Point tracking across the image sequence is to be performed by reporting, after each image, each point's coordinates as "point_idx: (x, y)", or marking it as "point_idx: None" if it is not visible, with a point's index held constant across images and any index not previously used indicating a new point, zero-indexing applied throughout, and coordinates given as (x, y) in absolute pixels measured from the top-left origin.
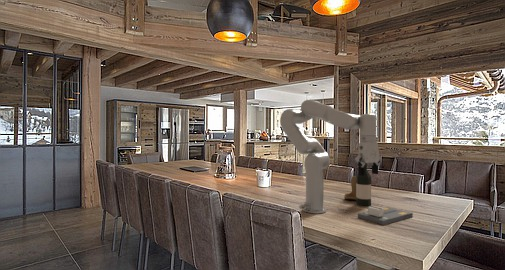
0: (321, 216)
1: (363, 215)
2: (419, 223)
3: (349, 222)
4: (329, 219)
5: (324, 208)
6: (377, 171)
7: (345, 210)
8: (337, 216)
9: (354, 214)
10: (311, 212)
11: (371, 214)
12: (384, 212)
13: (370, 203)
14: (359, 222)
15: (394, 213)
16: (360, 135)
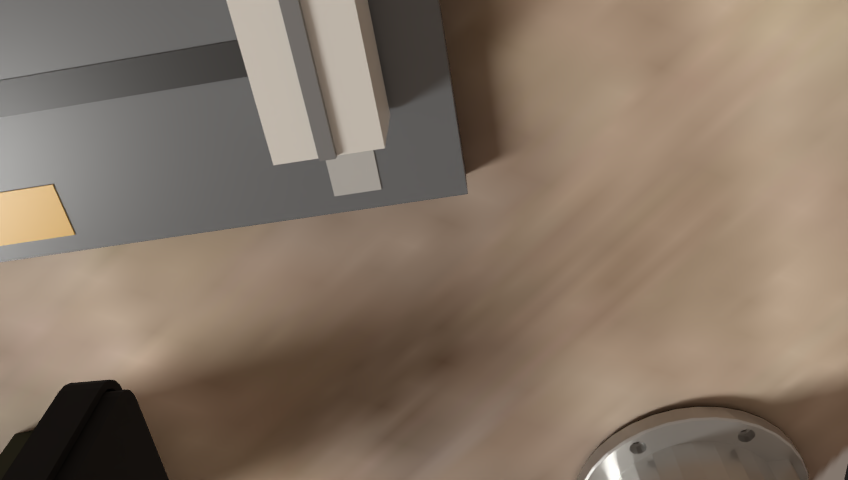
0: (781, 337)
1: (455, 118)
2: None
3: (700, 71)
4: (798, 235)
5: (603, 477)
6: (59, 451)
7: (396, 402)
8: (636, 282)
9: (413, 272)
10: (791, 442)
11: (379, 66)
12: (113, 107)
13: (10, 450)
14: (596, 25)
15: (9, 21)
16: None
